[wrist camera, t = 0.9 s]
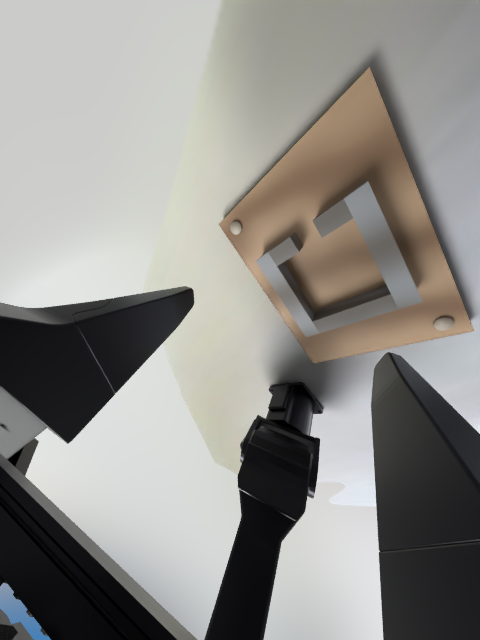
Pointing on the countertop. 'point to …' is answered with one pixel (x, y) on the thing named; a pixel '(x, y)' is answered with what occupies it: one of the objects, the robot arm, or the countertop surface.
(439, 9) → the countertop surface
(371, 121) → the chassis board
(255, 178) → the countertop surface
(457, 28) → the countertop surface
